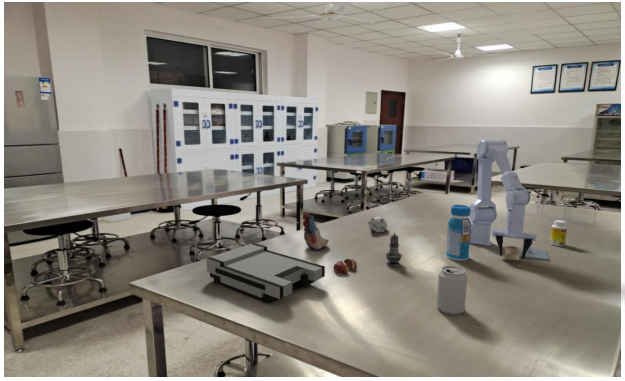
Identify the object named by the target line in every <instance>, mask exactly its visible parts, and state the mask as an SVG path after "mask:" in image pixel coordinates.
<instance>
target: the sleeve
mask: <svg viewBox="0 0 625 381" xmlns="http://www.w3.org/2000/svg"><path fill="white" fill-rule="evenodd" d="M519 247H520V246H518V245H509V244H506V245H505V250H504V262H506V263H507V262H508V263H515V264H518V263H519V264H520V257H519V256H520V248H519Z"/></svg>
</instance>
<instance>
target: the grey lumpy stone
mask: <svg viewBox="0 0 625 381" xmlns="http://www.w3.org/2000/svg"><path fill="white" fill-rule="evenodd" d="M367 222H368V223H367V224H368V227H369V230H370V231H371V232H376V233H385V231H386V230H387V229H388V223H387V221H386V220H385V219H384V217H383V216H375V217H374V218H371V219H369V220H368V221H367Z"/></svg>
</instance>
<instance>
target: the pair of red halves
mask: <svg viewBox="0 0 625 381" xmlns="http://www.w3.org/2000/svg"><path fill="white" fill-rule="evenodd" d="M349 269H350V270H352V271H357V269H358V264H357V262H356V260H354V259H353V258H351V259H350V258H346V259H344V260H338V261H337V262H336V263H334V264H333V271H335V272H337V271H338V273H341V274H343V275H347V274H348V271H349Z"/></svg>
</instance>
